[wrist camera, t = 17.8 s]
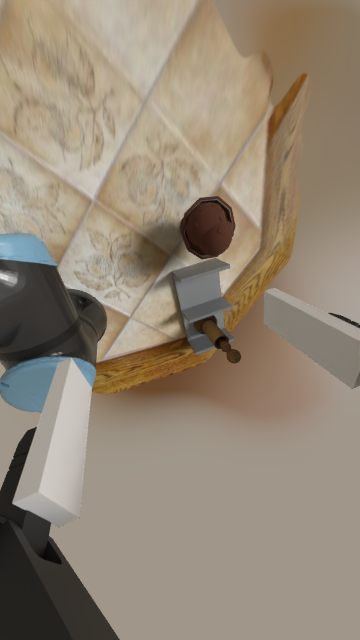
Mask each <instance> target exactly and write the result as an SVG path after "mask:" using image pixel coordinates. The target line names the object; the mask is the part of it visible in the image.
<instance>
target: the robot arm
mask: <svg viewBox="0 0 360 640" xmlns="http://www.w3.org/2000/svg"><path fill="white" fill-rule="evenodd" d="M56 267H58V266H57V264H56V263H55V262H54V261H53V259H52V257H51V255H50V253H49V251H48V249H47V247H46V245H45V244H44V242H43V241H42V240H41V239H40V238H38V237H36V236H35V235H32V234H27V233H13V234H0V362H1V363H2V365H3V366H4V367H5V369H6V372H5V373H4V374H3V375H2V377H1V379H0V380H1V381H0V394H1V397H2V398H3V399H4V401H5V402H6V403H8V404H9V405H11V406H13V407H15V408H17V409H20V410H23V411H28V412H40V413H42V414H41V416H40V420H39V423H38V426H37V427H35V428H33V429H30V430H28V431H27V432H26V433H25V435H24V436H23V438H22V439H21V441H20V442H19V444H18V446H17V448H16V451H15V454H14V456H13V457H14V459H13V460H12V462H11V464H10V467H9V471H8V472H7V475H6V477H5V480H4V482H3V485H2V488H1V490H0V640H120V639H119V638H118V637H117V635H116V634H115V632H114V630H113V629H112V628H111V626H110V624H109V623H108V621H107V620H106V618H105V617H104V615H103V614H102V612H101V611H100V609H99V608H98V607H97V605H96V604H95V602H94V601H93V599H92V597H91V596H90V594H89V593H88V591H87V590H86V588H85V587H84V585H83V584H82V582H81V581H80V579H79V578H78V576H77V575H76V573H75V572H74V570H73V569H72V567H71V566H70V564H69V563H68V561H67V560H66V558H65V557H64V555H63V554H62V552H61V551H60V549H59V548H58V546H57V545H56V543H55V542H54V540H53V539H52V538H51V537H49V531H50V526H51V524H53V525H55V526H57V527H61V526H64V525H66V524H68V523H70V522H72V521H74V520H76V519H78V518H80V509H81V499H82V488H83V477H84V465H85V455H86V445H87V434H88V423H89V412H90V402H91V391H92V387H93V384H94V380H95V377H96V357H97V343H98V341H99V340H100V339H101V338H102V336H103V335H104V333H105V330H106V326H107V316H106V312H105V309H104V307H103V306H102V304H101V303H100V302H99V301H98V300H97V299H96V298H95V297H93V296H92V295H90V294H88V293H86V292H83V291H80V290H74V289H66V287H65V285H64V283H63V281H62V279H61V276H60V274H59V272H58V270H57V268H56ZM264 300H265V301H264V324H265V325H266V326H268V327H269V328H270V329H272V330H273V331H274V332H276V333H277V334H278V335H280V336H281V337H282V338H284V339H285V340H287V341H288V342H289V343H291V344H292V345H294V346H295V347H296V348H297V349H299V350H300V351H302V352H303V353H304V354H305V355H307V356H308V357H310V358H311V359H312V360H314V361H315V362H316V363H318V364H319V365H320V366H322V367H323V368H324V369H326V370H327V371H328V372H330V373H331V374H333V375H334V376H335V377H337V378H338V379H339V380H341V381H342V382H343V383H345V384H346V385H347V386H349V387H350V388H351V389H353V388H356V387H358V386H360V325H359V324H358V323H356V322H354V321H351V320H350V319H347V318H345V317H343V316H341V315H336V314H333V313H326V312H324V311H322V310H320V309H318V308H316V307H313V306H311V305H309V304H307V303H305V302H303V301H301V300H299V299H297V298H294V297H292V296H290V295H288V294H286V293H284V292H282V291H280V290H278V289H276V288H273V289H270V290H267V291H265V299H264Z"/></svg>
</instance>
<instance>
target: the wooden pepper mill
mask: <svg viewBox="0 0 360 640" xmlns="http://www.w3.org/2000/svg"><path fill="white" fill-rule="evenodd" d="M194 327H195V328H196V330H197V331H198V332H199V333H200V334H206V335H207V337H208V338H209V340H210V341H211V342H212V344H213V345H214V346H215V347H216V348H217V349H222V351H223V352H227V359H228V360H229V361H230V362H231V363H237V362H239V361H240V359H241V355H240V353H239V352H238V351H237V350H234V349H231V345H230V344H229V338H228V337H227V336H226V335H225V334H224V333H223V332H222V330H221V329H220V328H219V327H218V326H217V319H216V317H215V316H214V315H212V316H209V317H206V318H203V319H201V320H198V321H195V322H194Z"/></svg>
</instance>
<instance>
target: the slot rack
mask: <svg viewBox="0 0 360 640" xmlns="http://www.w3.org/2000/svg"><path fill="white" fill-rule="evenodd" d="M228 268H230V264H227V263H225V262H223V261H221V260H219V259H216V258H214V259H211V260H207V261H204V262H201V263H198V264H194V265H191V266H188V267H184V268H181V269H178V270H174V271H172V275H173V279H174V284H175V288H176V292H177V297H178V301H179V306H180V310H181V314H182V319H183V323H184V328H185V332H186V336H187V341H188V342H189V344H190V346H191V347H192V349H193V351H194V352H195V354H196V355H197V354H200V353H203V352H205V351H208V350H211V349H213V348H216V347H215V346H214V345H213V344H212V342H211V341H210V340H209V338H208V337H207V335H206V334H200V333H199V332H198V331H197V330H196V328H195V327H194V322H195V321H198V320H201V319H203V318H206V317H209V316H212V315H214V316H215V317H216V319H217V326H218V327H219V328H220V329H221V330H222V332H223V333H224V334H225V335H226V336H227V337H228V338H229V342H232V341H234V337H233V336H232V335H231V334H230V333H229V332H228V331H227V330H226V329H225V328H224V321H223V311H226V310H229V309H232V305H231V304H230V303H228V302H227V301H226V300H225V299H223V298H222V297H221V289H220V278H219V271H222V270H225V269H228Z"/></svg>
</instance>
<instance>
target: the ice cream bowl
mask: <svg viewBox="0 0 360 640" xmlns="http://www.w3.org/2000/svg"><path fill="white" fill-rule="evenodd" d="M234 229H235V222H234V217H233V212H232V208H231V207H230V206H229V205H228V204H227V203H226V202H224V201H223V200H222V199H221V198H220V197H218V196H215V197H204V198H199V199H198V200H197V201H196V202H195V203H194V204H193V205H192V206H191V207H190V208H189V209H188V210H187V211H186V212H185V214H184V218H183V219H182V223H181V235H182V237H183V240H184V243H185V245H186V248H187V250H188V251H189V252H191V253H192V254H194V255H196V256H197V257H199V258H200V259H207V258H213V257H218V256H219V255H220V254H222V253H223V252H224V251H225V250H226V249H227V248H228V247H229V245H230V243H231V240H232V237H233V235H234Z"/></svg>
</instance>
